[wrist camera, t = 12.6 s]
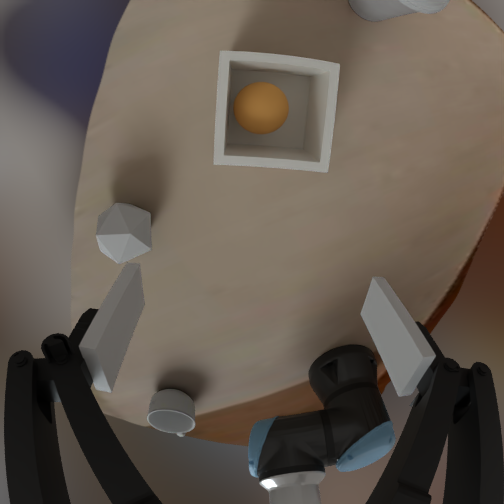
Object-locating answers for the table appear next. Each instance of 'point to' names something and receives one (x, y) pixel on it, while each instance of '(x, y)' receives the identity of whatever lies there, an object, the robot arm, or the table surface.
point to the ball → (261, 108)
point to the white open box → (299, 116)
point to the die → (124, 232)
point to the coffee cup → (394, 8)
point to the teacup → (172, 412)
